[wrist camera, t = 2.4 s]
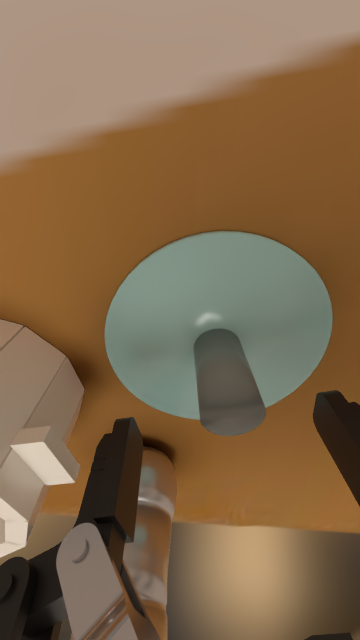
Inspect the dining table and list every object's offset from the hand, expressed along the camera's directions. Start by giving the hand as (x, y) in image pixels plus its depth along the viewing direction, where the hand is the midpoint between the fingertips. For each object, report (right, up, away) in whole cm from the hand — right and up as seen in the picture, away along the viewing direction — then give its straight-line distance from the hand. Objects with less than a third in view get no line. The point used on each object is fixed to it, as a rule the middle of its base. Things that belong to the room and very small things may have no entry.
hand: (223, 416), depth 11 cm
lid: (0, +3, +5) cm, 6 cm away
